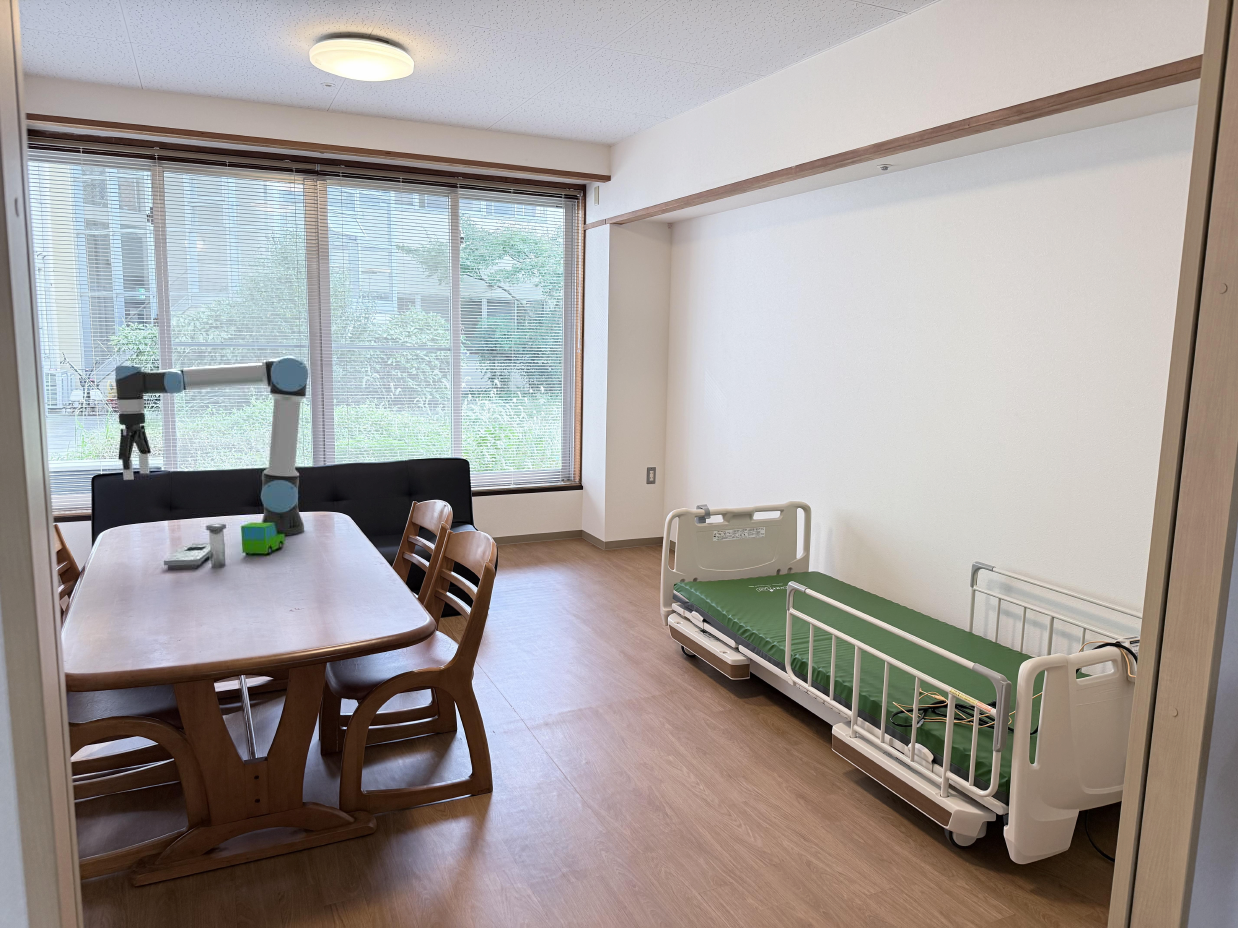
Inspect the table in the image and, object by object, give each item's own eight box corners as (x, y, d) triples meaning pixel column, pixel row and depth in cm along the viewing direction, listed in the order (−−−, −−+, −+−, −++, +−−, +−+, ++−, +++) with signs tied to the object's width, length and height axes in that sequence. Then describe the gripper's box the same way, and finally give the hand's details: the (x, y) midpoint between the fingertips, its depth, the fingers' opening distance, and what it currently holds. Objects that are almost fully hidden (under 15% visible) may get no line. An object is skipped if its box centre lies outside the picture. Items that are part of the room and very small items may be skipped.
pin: (230, 563, 270) (227, 523, 268) (225, 568, 264) (223, 526, 262) (211, 564, 268) (208, 523, 267) (206, 569, 263) (203, 527, 261)
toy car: (289, 547, 292) (287, 518, 290) (269, 556, 279) (267, 526, 277) (260, 546, 293) (258, 518, 291) (239, 556, 280) (237, 526, 278)
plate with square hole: (224, 546, 293) (224, 537, 292) (199, 568, 263) (198, 559, 263) (193, 547, 291) (192, 539, 290) (164, 570, 262) (163, 560, 261)
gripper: (134, 409, 292) (139, 471, 295) (102, 415, 268) (108, 482, 271) (157, 409, 293) (162, 470, 296) (128, 415, 269) (134, 481, 272)
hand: (136, 476), depth 284 cm, fingers open, 13 cm apart
